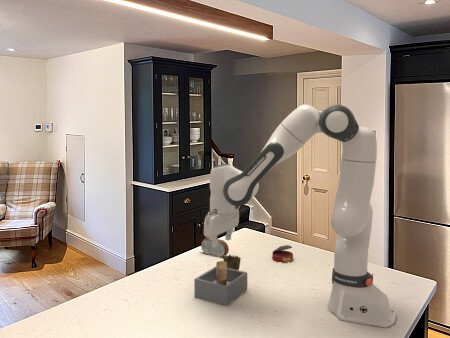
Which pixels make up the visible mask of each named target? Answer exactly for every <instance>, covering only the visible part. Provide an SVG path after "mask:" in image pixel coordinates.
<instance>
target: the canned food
mask: <svg viewBox="0 0 450 338" xmlns="http://www.w3.org/2000/svg"><path fill="white" fill-rule="evenodd" d="M292 248H293V246H292V245H288V244H287V245H285V244H284V245H280V246H278V247H277V248H275V249H274V250H273V251H271V253H272V254H271V255H272V257H271V258H272V259H273V260H274V261H273V260H272V261H273V262H275V261H277V262H276V263H278V262H282V263H281V264H289V263H288V262H290V263H292V262H293V261H294V253H293V252H291V251H288V250H290V249H292ZM291 261H292V262H291Z"/></svg>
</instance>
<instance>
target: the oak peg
mask: <svg viewBox="0 0 450 338" xmlns="http://www.w3.org/2000/svg"><path fill="white" fill-rule="evenodd" d="M215 266H216V283H217V284H222V285H227V262H224V261H222V260H219V261H216V265H215Z"/></svg>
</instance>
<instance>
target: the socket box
mask: <svg viewBox="0 0 450 338" xmlns="http://www.w3.org/2000/svg"><path fill="white" fill-rule="evenodd" d="M193 282H194V287H193V288H194V298H197V299H201V300H203V301H208V302H211V303H214V304H217V305H218V304H219V305H222V306H226V307H227V306H229V305H230V304H231V303H232V302H234V301H235V300H236V299H237V298H239V297H240V296H241V295H242V294H244V293H245V292H246V291H247V290H248V272H247V271H243V270H240V269H239V270H234V269H230V268H227V285H222V284H217V283H216V265H215V266H214V267H212V268H211V269H209V270H207V271H205V272H204V273H202V274H200V275H199V276H197V277H195V278H194V281H193Z"/></svg>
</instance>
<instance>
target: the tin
mask: <svg viewBox="0 0 450 338" xmlns="http://www.w3.org/2000/svg"><path fill="white" fill-rule="evenodd" d="M216 239H217V242H219V244H218V246H217V247H213V246H212V241H211V238H210V237H205V238H204V239H202V241H201V243H200V245H201V246H200V247H201V250H202V252H203V253H204V254H206V255H208V254H210V255H209V256H212V255H214V256H213V257H217V256H218V257H217V258H224V257H226V255H227V256H228V254H229V250H230V248H229V245H228V243H227V242H226V240H224V239H219V238H216Z"/></svg>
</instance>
